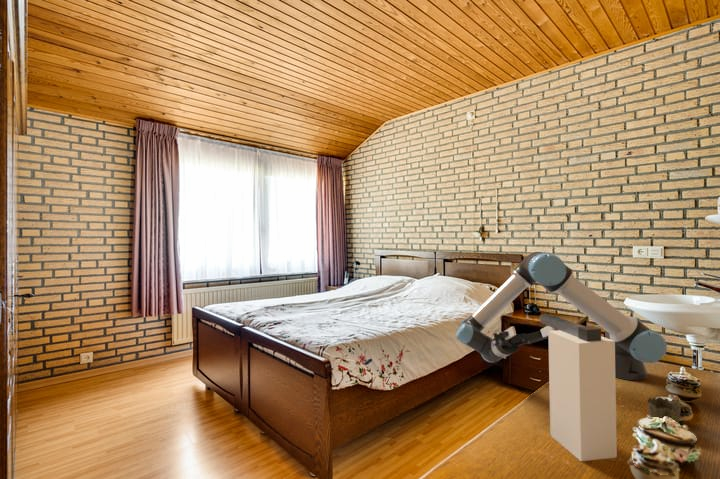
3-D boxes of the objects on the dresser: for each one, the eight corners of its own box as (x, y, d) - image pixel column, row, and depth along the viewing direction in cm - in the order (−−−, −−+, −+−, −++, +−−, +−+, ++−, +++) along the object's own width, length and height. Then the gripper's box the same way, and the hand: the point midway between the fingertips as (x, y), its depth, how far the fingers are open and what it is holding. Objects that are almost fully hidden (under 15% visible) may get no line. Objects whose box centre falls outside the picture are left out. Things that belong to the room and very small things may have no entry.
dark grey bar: (550, 322, 113) (550, 312, 112) (601, 340, 93) (600, 328, 93) (538, 322, 112) (538, 313, 112) (586, 341, 92) (586, 329, 92)
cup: (642, 426, 106) (641, 399, 106) (657, 421, 109) (656, 394, 109) (672, 439, 100) (672, 410, 100) (687, 433, 103) (686, 405, 102)
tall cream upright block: (582, 432, 104) (580, 328, 104) (616, 457, 92) (614, 340, 92) (550, 435, 103) (548, 330, 103) (581, 461, 91) (578, 343, 91)
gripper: (539, 353, 136) (573, 338, 117) (476, 357, 133) (500, 343, 115) (532, 333, 139) (564, 316, 121) (471, 337, 137) (494, 320, 118)
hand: (533, 329), depth 118 cm, fingers open, 13 cm apart
